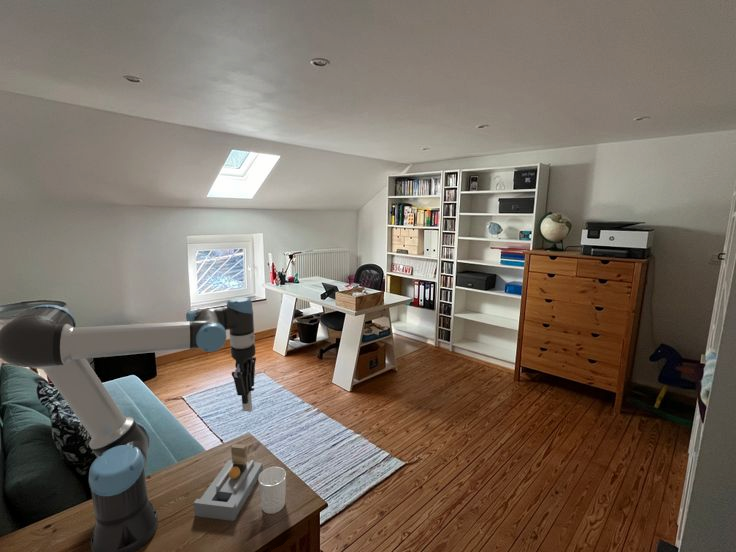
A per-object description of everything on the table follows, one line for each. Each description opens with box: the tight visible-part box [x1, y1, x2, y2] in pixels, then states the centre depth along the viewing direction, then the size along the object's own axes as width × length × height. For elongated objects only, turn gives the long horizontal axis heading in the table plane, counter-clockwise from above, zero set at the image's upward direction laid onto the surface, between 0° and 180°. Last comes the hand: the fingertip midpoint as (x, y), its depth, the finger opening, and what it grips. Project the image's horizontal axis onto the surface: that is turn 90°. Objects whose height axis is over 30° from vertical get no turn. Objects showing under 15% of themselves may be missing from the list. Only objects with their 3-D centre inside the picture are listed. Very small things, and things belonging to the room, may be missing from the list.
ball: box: [229, 467, 240, 479], centre depth 115 cm, size 4×4×4 cm
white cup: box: [257, 466, 287, 515], centre depth 108 cm, size 8×8×10 cm
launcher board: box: [193, 459, 264, 522], centre depth 113 cm, size 20×12×4 cm, turn 173°
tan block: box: [230, 443, 248, 472], centre depth 118 cm, size 2×4×8 cm, turn 83°
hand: (247, 410), depth 122 cm, fingers closed
